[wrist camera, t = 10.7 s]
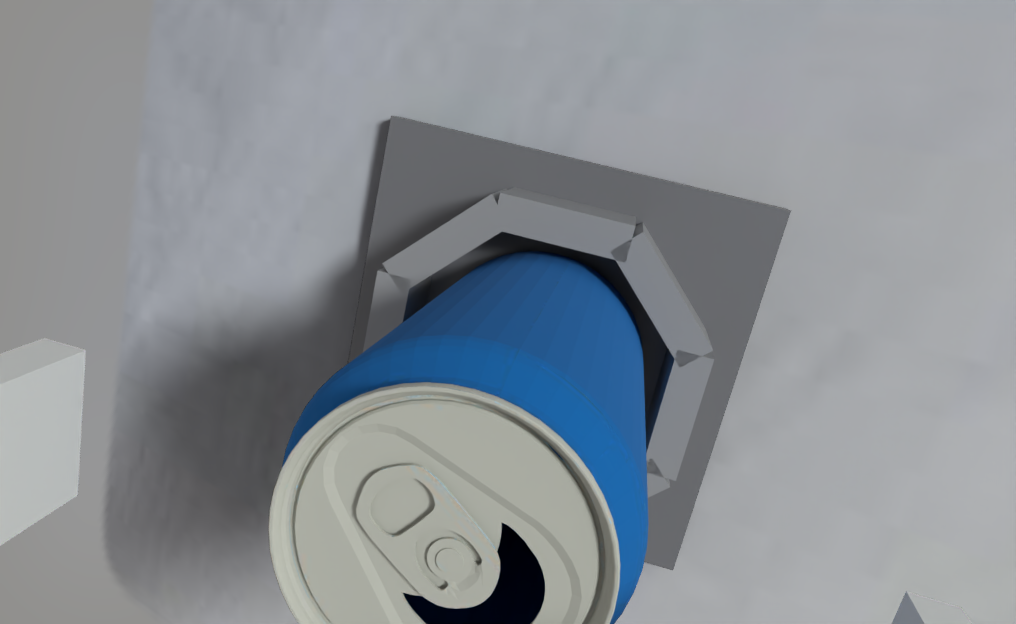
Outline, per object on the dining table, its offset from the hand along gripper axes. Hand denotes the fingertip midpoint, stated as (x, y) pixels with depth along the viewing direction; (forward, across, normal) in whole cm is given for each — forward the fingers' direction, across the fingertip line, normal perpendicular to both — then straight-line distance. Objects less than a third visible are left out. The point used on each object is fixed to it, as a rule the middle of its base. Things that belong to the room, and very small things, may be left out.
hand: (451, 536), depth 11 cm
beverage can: (+12, 0, -1) cm, 12 cm away
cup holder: (+12, 0, -1) cm, 12 cm away
